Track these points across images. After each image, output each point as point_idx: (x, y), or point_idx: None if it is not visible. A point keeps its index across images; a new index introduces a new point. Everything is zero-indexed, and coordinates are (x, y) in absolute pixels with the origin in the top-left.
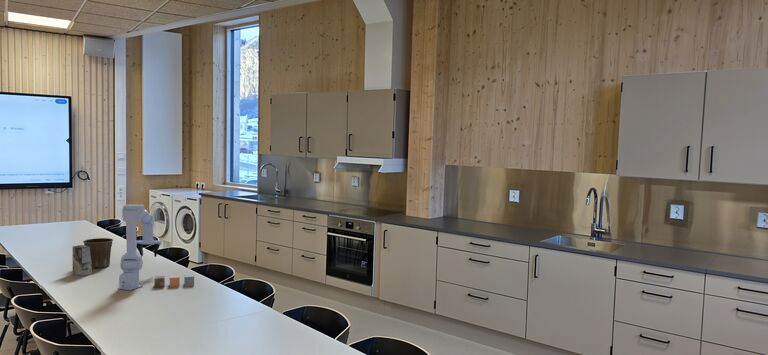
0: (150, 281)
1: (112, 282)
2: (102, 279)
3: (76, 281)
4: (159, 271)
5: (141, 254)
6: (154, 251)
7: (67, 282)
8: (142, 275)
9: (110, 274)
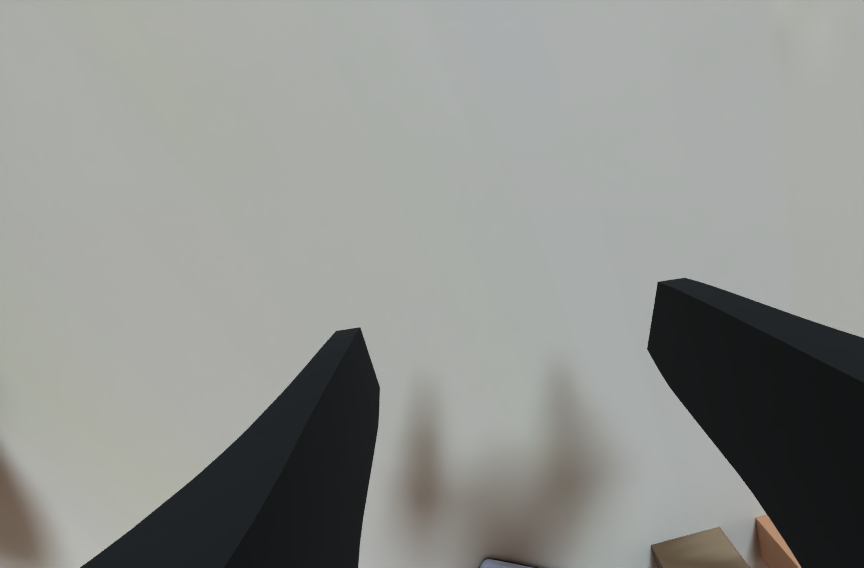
0: (589, 473)
1: None
2: (191, 477)
3: (64, 540)
4: (553, 99)
5: (373, 444)
6: (762, 497)
7: (33, 564)
8: (439, 314)
9: (114, 329)
